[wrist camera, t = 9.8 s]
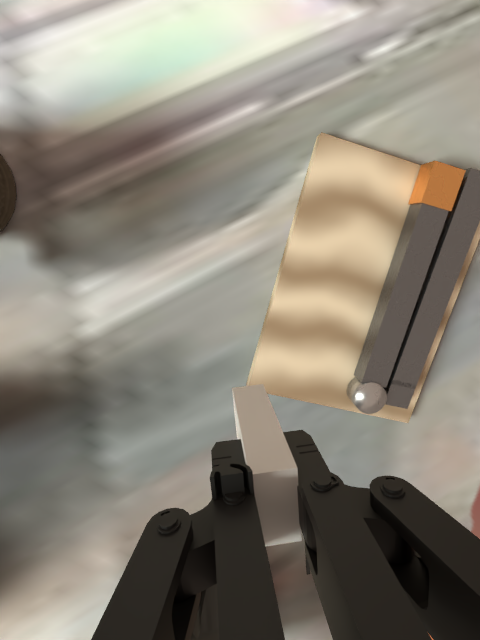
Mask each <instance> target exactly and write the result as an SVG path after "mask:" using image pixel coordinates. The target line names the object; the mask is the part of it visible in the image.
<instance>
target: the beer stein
mask: <svg viewBox="0 0 480 640" xmlns="http://www.w3.org/2000/svg"><path fill="white" fill-rule="evenodd" d="M15 203H16V186H15V182H14V178H13V175H12V172H11V170H10V168H9V166H8V165H7V163H6V161H5V160H4V158H3V157H2V156H1V155H0V232H1V231H2V230H3V228H4V227H5V226H6V225H7V224H8V222H9V220H10V218H11V216H12V214H13V212H14V208H15Z"/></svg>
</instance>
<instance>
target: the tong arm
mask: <svg viewBox="0 0 480 640" xmlns="http://www.w3.org/2000/svg"><path fill="white" fill-rule="evenodd" d="M465 171H466V170H463V169H460V168H457V167H453V166H450V165H447V164H444V163H441V162H438V161H433V162H429V163H426V164H423V165H421V167H420V170H419V173H418V176H417V179H416V182H415V185H414V188H413V191H412V194H411V197H410V200H409V203H408V204H409V205H410V207H409V210H408V213H407V216H406V219H405V222H404V225H403V228H402V231H401V234H400V237H399V240H398V243H397V246H396V249H395V252H394V255H393V258H392V261H391V264H390V267H389V270H388V273H387V276H386V279H385V282H384V285H383V288H382V291H381V294H380V297H379V300H378V303H377V306H376V309H375V312H374V315H373V318H372V321H371V324H370V327H369V330H368V333H367V336H366V339H365V342H364V345H363V348H362V351H361V354H360V357H359V360H358V363H357V366H356V369H355V372H354V376H355V377H354V378H353V379H352V380H351V381H350V382H349V384H348V386H347V390H346V392H347V396H348V398H349V399H350V400H351V402H352V403H353V404H354V405H355V406H356V407H357V408H358V409H359V410H360V411H361V412H362V413H365V414H373V413H376V412H378V411H380V410H381V409H382V408H383V407H384V405H385V403H386V400H387V394H386V391H385V389H384V388H383V387H385V388H386V387H387V384H388V381H389V378H390V376H391V373H392V370H393V367H394V364H395V361H396V359H397V356H398V353H399V350H400V347H401V344H402V342H403V339H404V336H405V333H406V330H407V328H408V325H409V322H410V319H411V316H412V313H413V311H414V308H415V305H416V302H417V299H418V297H419V294H420V291H421V288H422V285H423V282H424V280H425V277H426V274H427V271H428V268H429V265H430V263H431V260H432V257H433V254H434V251H435V249H436V246H437V243H438V240H439V237H440V234H441V232H442V229H443V226H444V223H445V220H446V218H447V215H448V212H450V211H452V208H453V205H454V202H455V199H456V197H457V194H458V191H459V188H460V185H461V183H462V180H463V177H464V174H465Z"/></svg>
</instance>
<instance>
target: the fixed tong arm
mask: <svg viewBox="0 0 480 640" xmlns="http://www.w3.org/2000/svg"><path fill="white" fill-rule="evenodd" d="M479 222H480V171H478V170H475V169H472V168H470V169H466V171H465V174H464V177H463V180H462V183H461V185H460V188H459V191H458V194H457V197H456V199H455V202H454V205H453V208H452V211H450V212H448V215H447V218H446V220H445V223H444V226H443V229H442V232H441V234H440V237H439V240H438V243H437V246H436V249H435V251H434V254H433V257H432V260H431V263H430V265H429V268H428V271H427V274H426V277H425V280H424V282H423V285H422V288H421V291H420V294H419V297H418V299H417V302H416V305H415V308H414V311H413V313H412V316H411V319H410V322H409V325H408V328H407V330H406V333H405V336H404V339H403V342H402V344H401V347H400V350H399V353H398V356H397V359H396V361H395V364H394V367H393V370H392V373H391V376H390V378H389V381H388V384H387V387H386V388H385V387H383V388H384V389H385V391H386V394H387V400H386V403H385V404H386V405H391V406H395V407H400V408H405V409H408V406H409V404H410V401H411V399H412V396H413V393H414V391H415V388H416V386H417V383H418V380H419V378H420V375H421V373H422V370H423V367H424V365H425V362H426V360H427V357H428V354H429V352H430V349H431V347H432V344H433V342H434V339H435V336H436V334H437V331H438V329H439V326H440V323H441V321H442V318H443V316H444V313H445V310H446V308H447V305H448V303H449V300H450V297H451V295H452V292H453V290H454V287H455V284H456V282H457V279H458V277H459V274H460V271H461V269H462V266H463V264H464V261H465V258H466V256H467V253H468V251H469V248H470V245H471V243H472V240H473V238H474V235H475V232H476V230H477V227H478V225H479Z"/></svg>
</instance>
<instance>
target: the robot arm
mask: <svg viewBox="0 0 480 640" xmlns="http://www.w3.org/2000/svg"><path fill="white" fill-rule="evenodd" d="M232 392H233V402H234V412H235V422H236V432H237V440H230V441H222V442H216V444H215V445H214V447H213V449H212V450H211V452H212V472H211V475H210V482H211V490H212V500H211V502H210V503H209V504H208V505H207V506H206V507H205V508H203V509H202V510H200V511H198V512H196V513H194V514H191V515H189V513H188V512H186V511H185V510H183V509H179V508H170V509H165V510H163V511H160V512H158V513H157V514H156V515H154V516H153V517H152V518H151V519H150V521H149V522H148V523H147V525H146V527H145V529H144V531H143V533H142V536H141V538H140V540H139V542H138V544H137V546H136V548H135V550H134V552H133V554H132V556H131V558H130V560H129V562H128V565H127V567H126V569H125V571H124V573H123V575H122V577H121V579H120V581H119V583H118V585H117V587H116V589H115V591H114V594H113V596H112V598H111V600H110V602H109V604H108V606H107V608H106V610H105V612H104V614H103V616H102V618H101V620H100V623H99V625H98V627H97V629H96V631H95V633H94V635H93V637H92V639H91V640H285V638H284V633H283V628H282V624H281V619H280V614H279V609H278V604H277V600H276V595H275V590H274V585H273V581H272V576H271V571H270V566H269V561H268V557H267V552H266V546H273V545H279V544H285V543H292V542H298V541H302V539H301V530H302V533H303V536H304V539H305V553H306V570H307V574H310V569H311V572H312V575H313V579H314V582H315V585H316V588H317V591H318V594H319V597H320V600H321V603H322V607H323V610H324V613H325V616H326V619H327V622H328V625H329V628H330V631H331V635H332V638H333V640H432V639H431V638H430V636H429V634H430V635H431V637H432V638H433V639H434V640H480V539H479V538H478V537H476V536H475V535H474V534H473V533H471V532H470V531H469V530H468V529H466V528H465V527H464V526H463V525H461V524H460V523H459V522H458V521H456V520H455V519H454V518H453V517H451V516H450V515H449V514H448V513H446V512H445V511H444V510H443V509H441V508H440V507H439V506H438V505H436V504H435V503H434V502H433V501H431V500H430V499H429V498H428V497H426V496H425V495H424V494H423V493H421V492H420V491H419V490H418V489H416V488H415V487H414V486H413V485H411V484H410V483H408V482H407V481H405V480H403V479H401V478H398V477H395V476H380V477H377V478H375V479H374V480H372V482H371V484H370V489H368V488H357V487H351V486H347V485H344V483H343V481H342V480H341V479H340V478H339V477H338V476H337V475H335V474H333V473H331V472H330V471H329V469H328V467H327V465H326V463H325V461H324V460H323V458H322V456H321V454H320V452H319V451H318V448H317V447H316V445H315V443H314V441H313V439H312V437H311V436H310V435H309V434H307V433H306V432H304V431H303V430H297V431H290V432H283V431H282V429H281V427H280V424H279V422H278V419H277V417H276V414H275V412H274V409H273V407H272V405H271V402H270V400H269V397H268V395H267V392H266V390H265V387H264V385H263V384H260V385H251V386H243V387H235V388H232ZM428 633H429V634H428Z"/></svg>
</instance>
